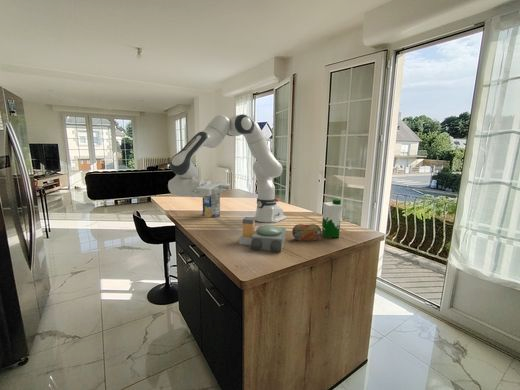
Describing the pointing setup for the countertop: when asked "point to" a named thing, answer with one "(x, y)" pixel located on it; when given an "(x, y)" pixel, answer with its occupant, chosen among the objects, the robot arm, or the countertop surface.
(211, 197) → the beverage box
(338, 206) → the milk carton
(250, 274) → the countertop surface
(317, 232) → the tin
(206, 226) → the countertop surface
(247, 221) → the orange gray block
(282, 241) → the gray toy machine
